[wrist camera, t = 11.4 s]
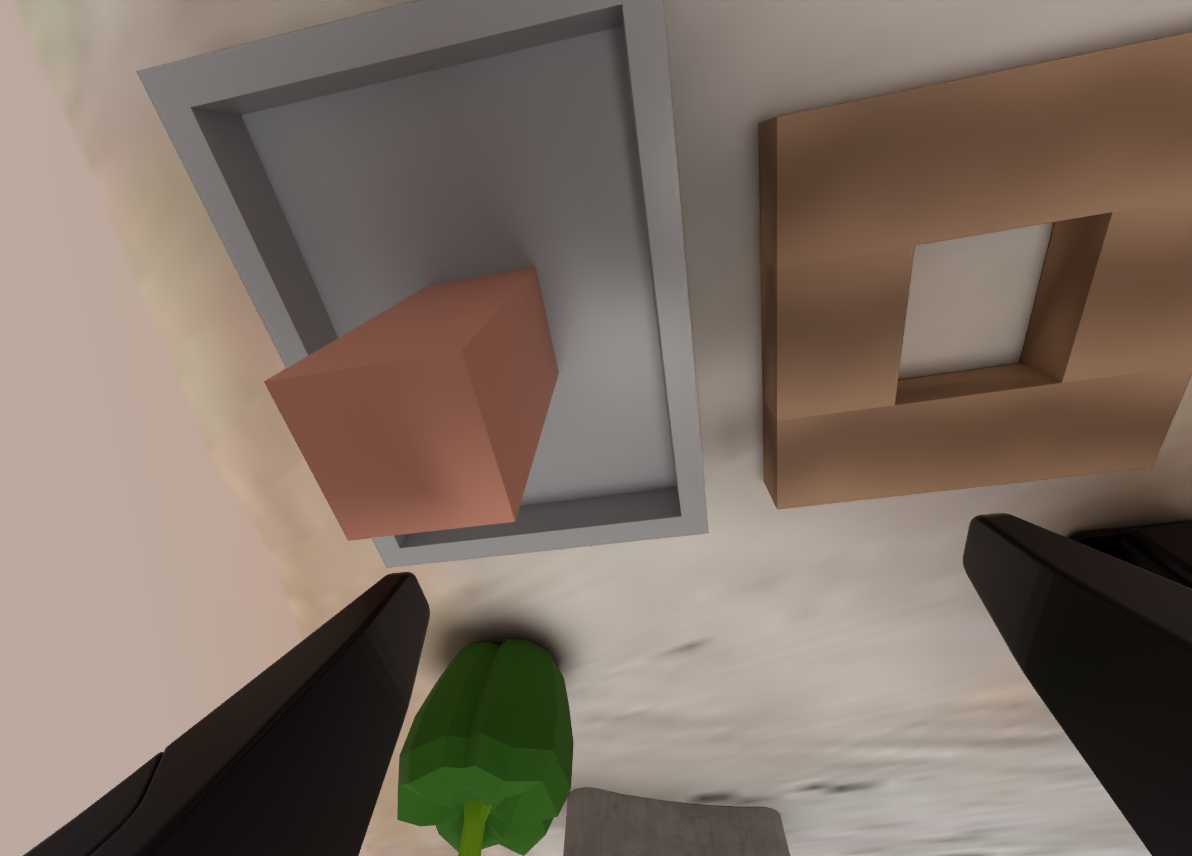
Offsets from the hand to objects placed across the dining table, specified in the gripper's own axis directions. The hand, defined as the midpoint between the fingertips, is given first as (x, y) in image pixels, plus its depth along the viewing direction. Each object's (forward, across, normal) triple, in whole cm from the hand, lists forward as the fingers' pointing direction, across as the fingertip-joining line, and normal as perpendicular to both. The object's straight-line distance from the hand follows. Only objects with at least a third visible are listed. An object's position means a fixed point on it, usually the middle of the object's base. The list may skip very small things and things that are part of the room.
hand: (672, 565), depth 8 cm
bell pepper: (+13, +11, +18) cm, 25 cm away
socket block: (+13, -11, 0) cm, 17 cm away
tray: (+12, +6, -2) cm, 14 cm away
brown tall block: (+11, +6, -2) cm, 13 cm away
